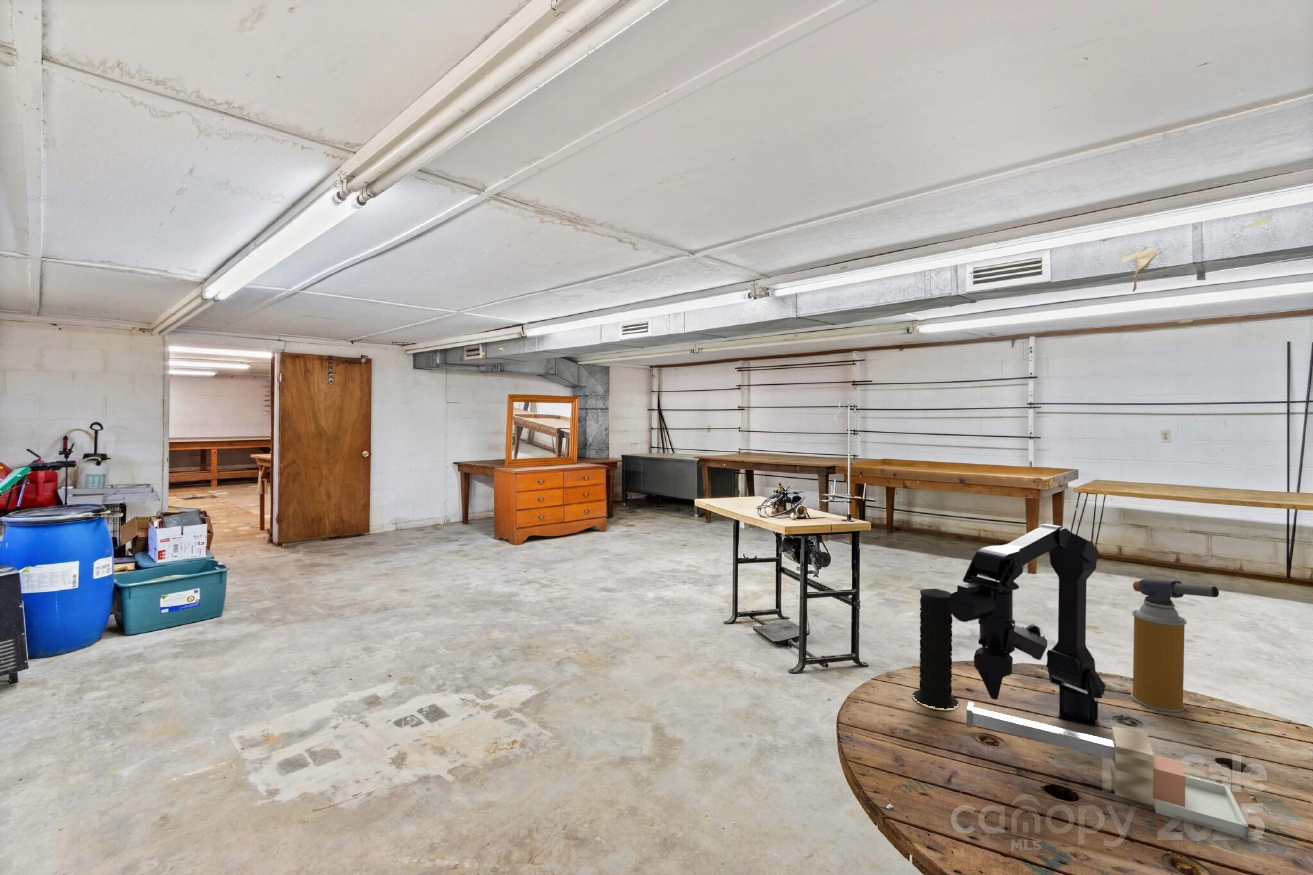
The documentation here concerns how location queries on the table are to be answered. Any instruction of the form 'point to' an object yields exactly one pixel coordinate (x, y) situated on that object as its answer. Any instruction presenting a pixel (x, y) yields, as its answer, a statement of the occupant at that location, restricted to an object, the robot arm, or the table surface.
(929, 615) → the handle grip
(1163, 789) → the collar
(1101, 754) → the shaft
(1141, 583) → the blowtorch
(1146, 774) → the pillow block
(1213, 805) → the tray
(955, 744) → the table surface
